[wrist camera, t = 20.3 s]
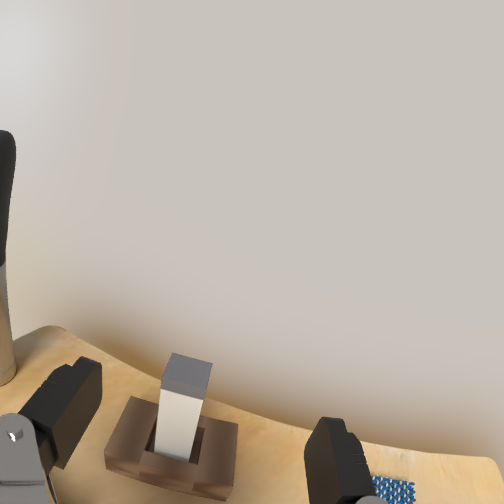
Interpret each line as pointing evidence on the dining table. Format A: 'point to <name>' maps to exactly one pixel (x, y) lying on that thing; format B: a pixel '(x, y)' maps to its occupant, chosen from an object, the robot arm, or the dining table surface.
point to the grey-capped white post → (180, 405)
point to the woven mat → (393, 490)
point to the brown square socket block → (167, 469)
